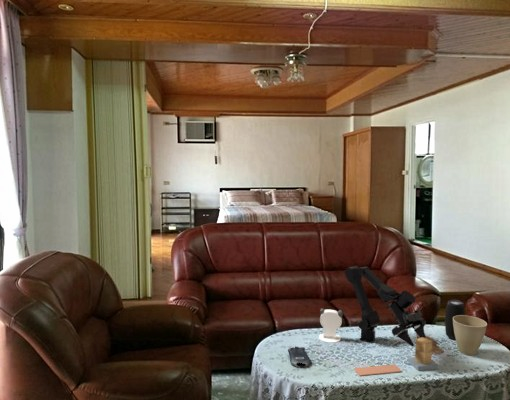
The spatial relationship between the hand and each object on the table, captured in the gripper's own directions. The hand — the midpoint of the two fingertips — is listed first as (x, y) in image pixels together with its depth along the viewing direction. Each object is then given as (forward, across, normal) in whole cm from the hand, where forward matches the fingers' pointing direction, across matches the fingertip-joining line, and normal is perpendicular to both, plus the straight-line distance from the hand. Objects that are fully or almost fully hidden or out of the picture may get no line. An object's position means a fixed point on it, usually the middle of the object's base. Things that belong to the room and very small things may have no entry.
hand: (419, 343), depth 191 cm
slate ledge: (+8, 0, +5) cm, 10 cm away
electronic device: (-16, -45, +30) cm, 56 cm away
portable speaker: (+1, +40, +12) cm, 42 cm away
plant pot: (+11, +30, +3) cm, 32 cm away
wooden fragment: (-1, +22, +15) cm, 27 cm away
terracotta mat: (+3, -21, +11) cm, 24 cm away
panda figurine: (-24, -15, +37) cm, 46 cm away
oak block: (+7, 0, +4) cm, 8 cm away
